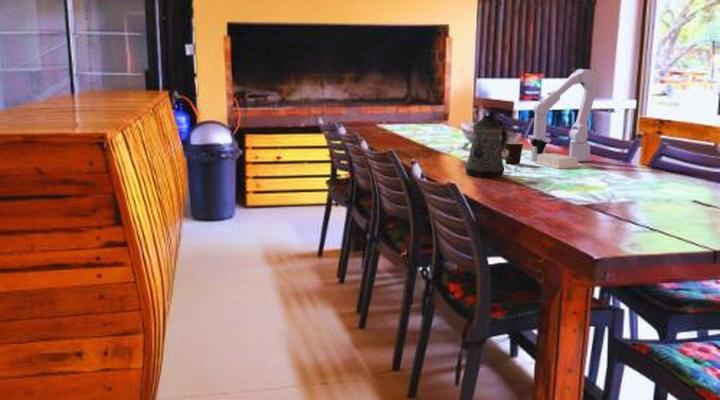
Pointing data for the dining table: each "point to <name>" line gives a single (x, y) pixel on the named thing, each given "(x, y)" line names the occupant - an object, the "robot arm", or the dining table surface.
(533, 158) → the plate tile
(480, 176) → the beer stein
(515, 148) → the coffee mug
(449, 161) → the dining table surface
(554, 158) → the dish rack
